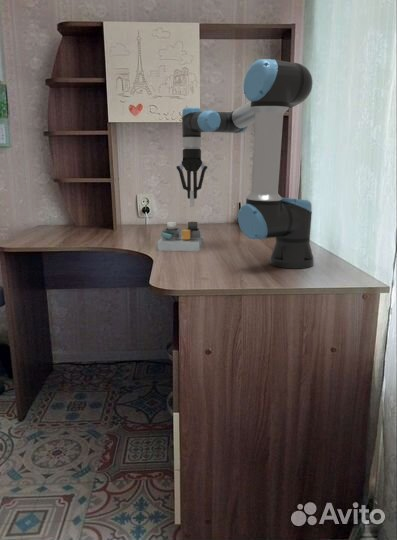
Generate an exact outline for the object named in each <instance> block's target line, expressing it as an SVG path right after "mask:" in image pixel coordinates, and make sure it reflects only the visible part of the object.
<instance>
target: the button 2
mask: <svg viewBox="0 0 397 540" xmlns="http://www.w3.org/2000/svg"><path fill="white" fill-rule="evenodd" d="M187 228H188V230H197V228H198V221H188V222H187Z"/></svg>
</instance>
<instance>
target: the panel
mask: <svg viewBox="0 0 397 540" xmlns="http://www.w3.org/2000/svg"><path fill="white" fill-rule="evenodd" d="M184 230H188V227H186V228H184ZM162 233H166V234H171V235H172V237H171V239H170V238H166V237H160V239H159V238H158V240H157V251H159V252H160V251H161V252H164V251H165V252H200V250H201V249H202V247H203V245H204V235H203V228H201V227H199V228H198V227H197V230H191V238H190V239H182V227H177V229H176V230H168V229H167V227H165V228H164V229H162ZM162 233H161V234H162Z"/></svg>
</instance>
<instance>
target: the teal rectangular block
mask: <svg viewBox="0 0 397 540" xmlns="http://www.w3.org/2000/svg"><path fill="white" fill-rule="evenodd" d="M160 236H161V237H160V238H162V237H166V238H170V239H171V237H172V235H171V234H166V233H161V235H160Z"/></svg>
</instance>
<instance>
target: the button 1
mask: <svg viewBox="0 0 397 540" xmlns="http://www.w3.org/2000/svg"><path fill="white" fill-rule="evenodd" d="M166 225H167V226H166V228H167V229H168V230H176V229H177V228H178V227H177V221H171V220H170V221H167V222H166Z"/></svg>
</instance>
